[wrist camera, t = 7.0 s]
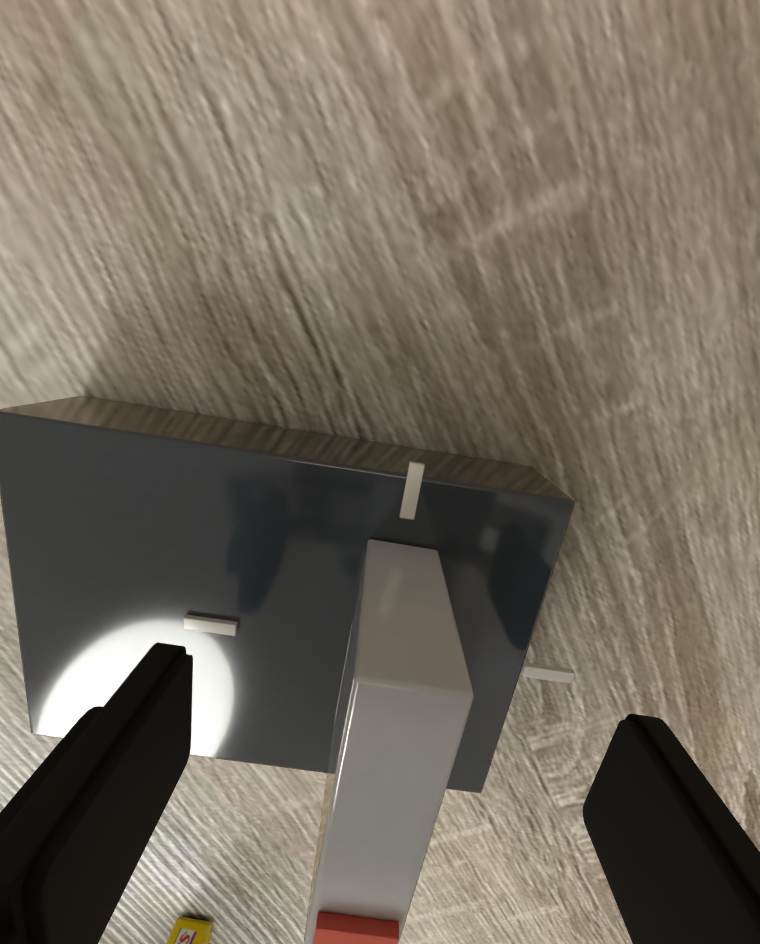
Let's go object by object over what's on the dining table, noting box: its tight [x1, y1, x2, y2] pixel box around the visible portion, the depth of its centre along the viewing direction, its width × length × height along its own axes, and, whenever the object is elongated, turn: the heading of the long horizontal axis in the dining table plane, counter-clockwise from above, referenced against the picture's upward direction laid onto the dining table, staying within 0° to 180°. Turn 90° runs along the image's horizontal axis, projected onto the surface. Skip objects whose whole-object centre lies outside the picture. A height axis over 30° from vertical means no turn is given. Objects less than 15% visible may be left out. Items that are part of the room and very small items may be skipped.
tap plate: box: [0, 396, 575, 793], centre depth 12 cm, size 15×11×3 cm
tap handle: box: [304, 539, 474, 944], centre depth 9 cm, size 6×2×5 cm, turn 170°
